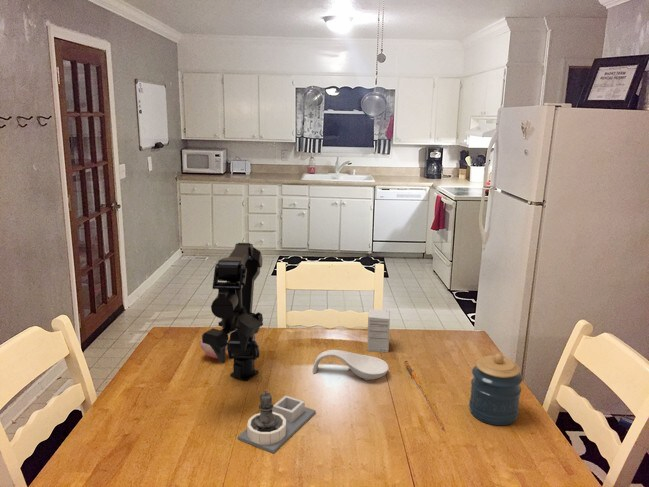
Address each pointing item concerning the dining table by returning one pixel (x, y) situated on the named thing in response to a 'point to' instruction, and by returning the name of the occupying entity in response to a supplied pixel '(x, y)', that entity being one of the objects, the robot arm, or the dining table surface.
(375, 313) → the supplement box
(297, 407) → the socket board
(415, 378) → the katana
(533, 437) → the dining table surface
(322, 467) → the dining table surface
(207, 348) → the decorative fruit
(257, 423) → the dark grey tiered column
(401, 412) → the dining table surface
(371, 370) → the spoon rest
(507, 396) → the canister
